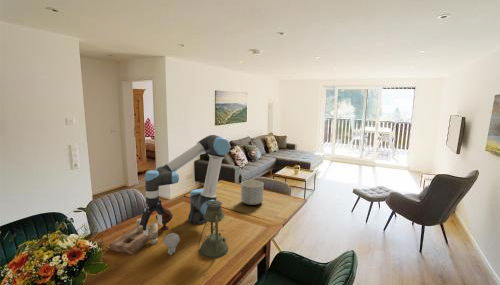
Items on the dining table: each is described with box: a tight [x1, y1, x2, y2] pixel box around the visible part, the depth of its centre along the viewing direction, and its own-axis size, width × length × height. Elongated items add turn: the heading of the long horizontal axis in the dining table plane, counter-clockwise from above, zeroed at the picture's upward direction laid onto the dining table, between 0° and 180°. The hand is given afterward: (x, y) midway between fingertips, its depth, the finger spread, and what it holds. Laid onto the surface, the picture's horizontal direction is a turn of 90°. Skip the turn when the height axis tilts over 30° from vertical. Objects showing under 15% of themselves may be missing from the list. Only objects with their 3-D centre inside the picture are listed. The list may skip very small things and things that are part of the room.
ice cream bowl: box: [155, 207, 174, 232], centre depth 173 cm, size 11×11×15 cm
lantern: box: [198, 199, 229, 259], centre depth 149 cm, size 21×18×30 cm
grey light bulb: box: [163, 232, 180, 256], centre depth 145 cm, size 8×8×12 cm
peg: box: [149, 222, 159, 245], centre depth 156 cm, size 5×5×12 cm
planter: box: [240, 179, 264, 206], centre depth 219 cm, size 19×19×18 cm
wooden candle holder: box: [109, 217, 151, 255], centre depth 157 cm, size 16×22×12 cm
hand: (153, 229), depth 156 cm, fingers open, 13 cm apart
